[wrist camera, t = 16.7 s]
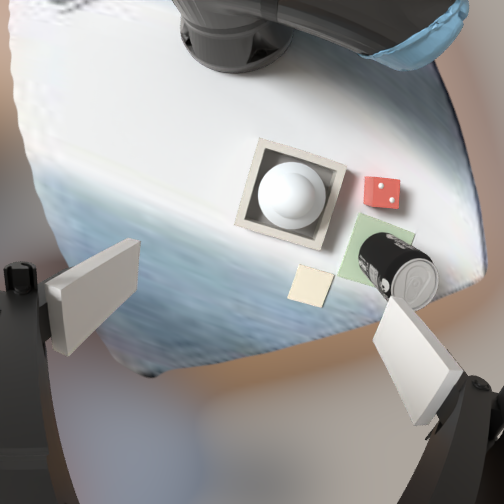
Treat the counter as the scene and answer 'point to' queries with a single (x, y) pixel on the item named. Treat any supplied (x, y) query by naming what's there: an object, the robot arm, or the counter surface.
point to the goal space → (360, 233)
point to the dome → (291, 195)
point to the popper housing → (262, 162)
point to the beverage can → (398, 269)
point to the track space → (310, 286)
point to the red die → (381, 192)
